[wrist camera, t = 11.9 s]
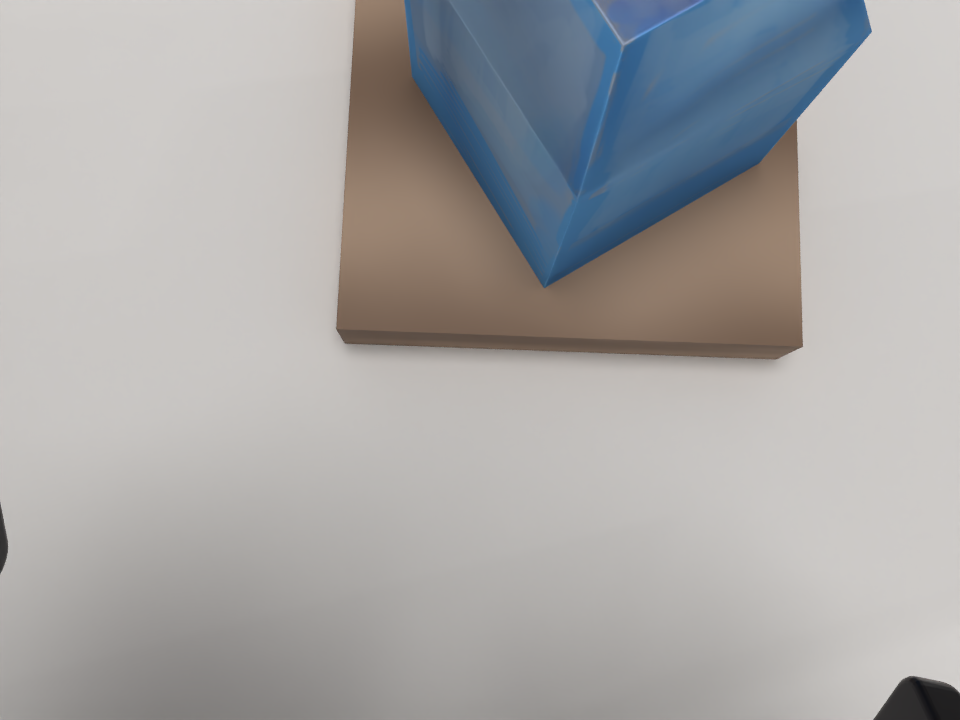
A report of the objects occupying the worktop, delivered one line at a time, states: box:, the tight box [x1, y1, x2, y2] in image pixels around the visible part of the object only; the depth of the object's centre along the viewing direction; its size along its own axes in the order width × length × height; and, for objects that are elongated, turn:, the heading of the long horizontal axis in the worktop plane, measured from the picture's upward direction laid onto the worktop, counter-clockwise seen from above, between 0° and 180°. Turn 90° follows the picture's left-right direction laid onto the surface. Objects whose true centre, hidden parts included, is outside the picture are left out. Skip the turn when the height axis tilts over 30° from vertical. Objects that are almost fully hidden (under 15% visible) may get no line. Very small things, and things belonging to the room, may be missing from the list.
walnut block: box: [336, 0, 803, 359], centre depth 24 cm, size 11×11×2 cm
